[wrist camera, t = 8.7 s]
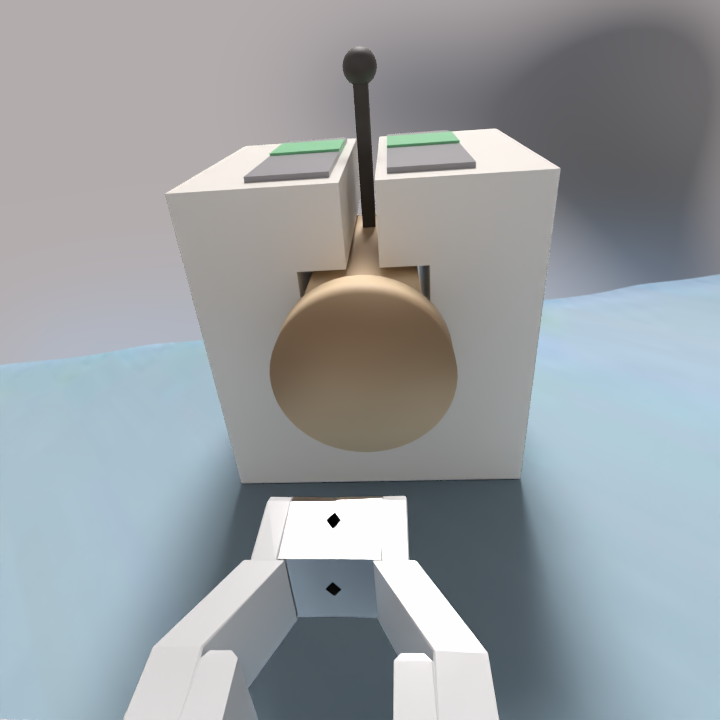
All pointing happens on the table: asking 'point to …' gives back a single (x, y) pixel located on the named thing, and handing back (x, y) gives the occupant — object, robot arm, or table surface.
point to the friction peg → (364, 333)
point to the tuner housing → (396, 249)
